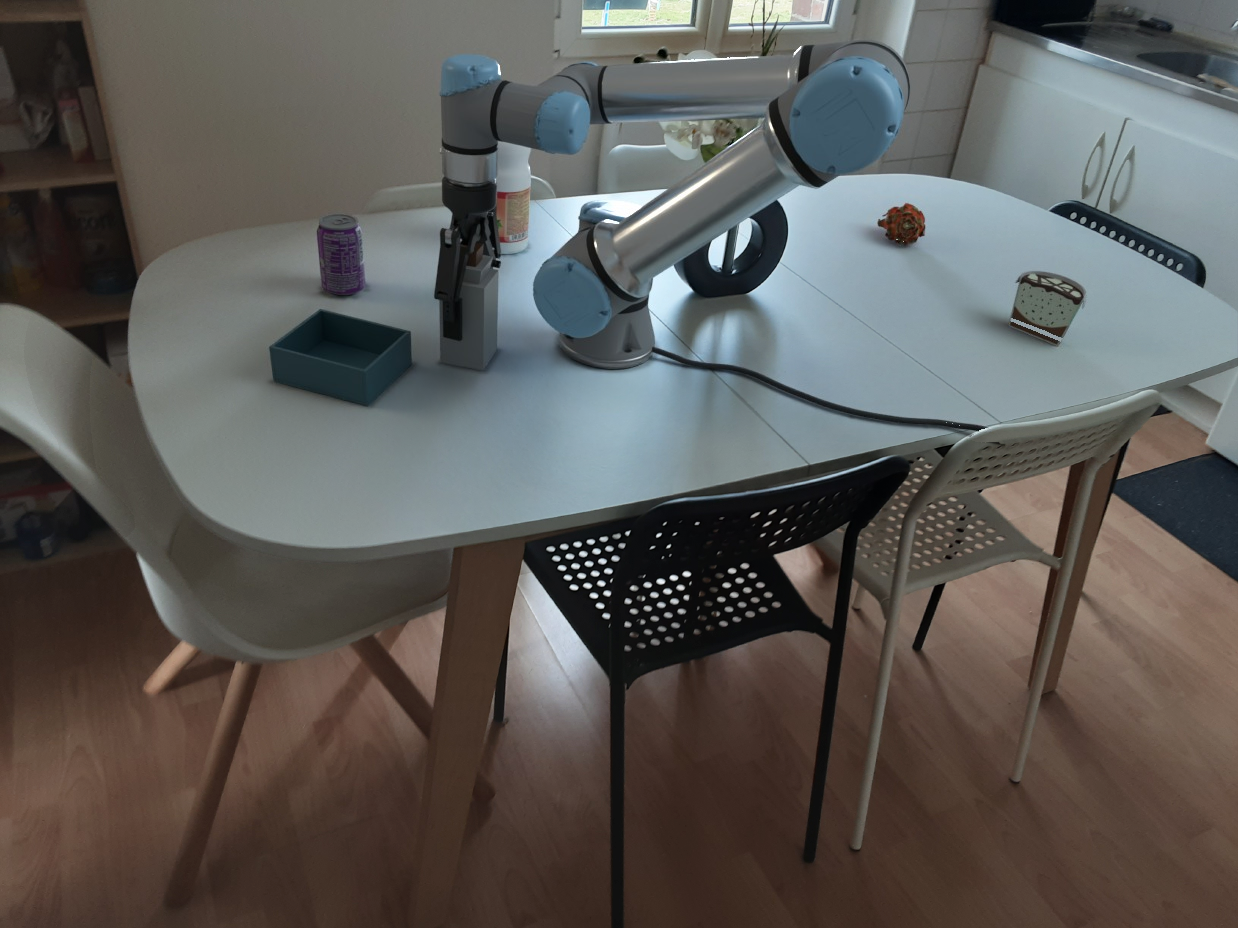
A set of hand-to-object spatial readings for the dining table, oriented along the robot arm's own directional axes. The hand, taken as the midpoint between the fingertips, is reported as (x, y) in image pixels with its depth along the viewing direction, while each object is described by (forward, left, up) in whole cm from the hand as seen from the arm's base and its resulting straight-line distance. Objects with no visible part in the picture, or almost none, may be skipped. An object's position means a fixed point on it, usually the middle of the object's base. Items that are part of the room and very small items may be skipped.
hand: (469, 322), depth 145 cm
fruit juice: (+12, -41, -6) cm, 43 cm away
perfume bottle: (0, 0, -6) cm, 6 cm away
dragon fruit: (-59, -85, -6) cm, 104 cm away
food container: (-87, -55, -6) cm, 103 cm away
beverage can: (+28, -11, -6) cm, 31 cm away
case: (+14, +13, -6) cm, 20 cm away
